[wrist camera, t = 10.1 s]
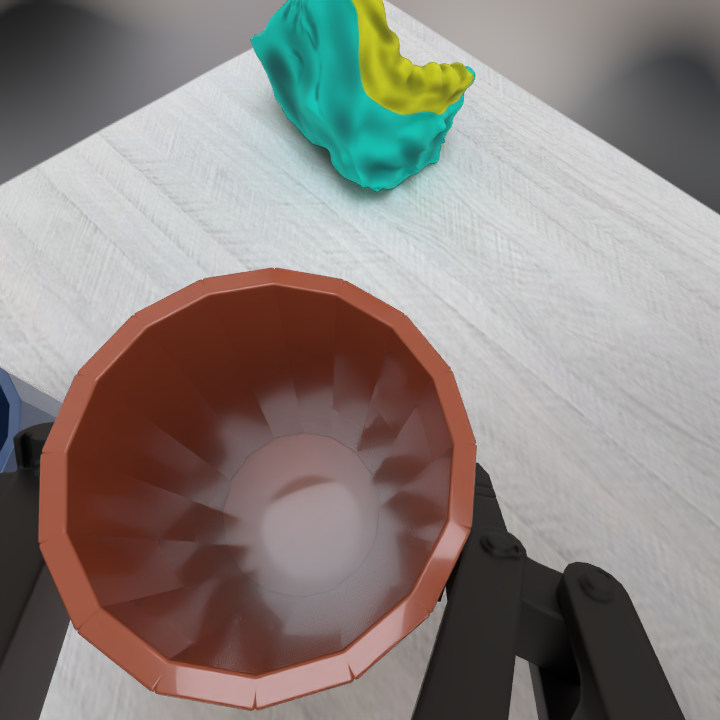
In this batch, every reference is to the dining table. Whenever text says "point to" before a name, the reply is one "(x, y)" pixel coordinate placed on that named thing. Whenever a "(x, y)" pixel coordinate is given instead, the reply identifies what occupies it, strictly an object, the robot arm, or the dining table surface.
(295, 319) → the terracotta cup
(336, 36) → the organ model
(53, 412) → the blue cup
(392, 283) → the dining table surface
